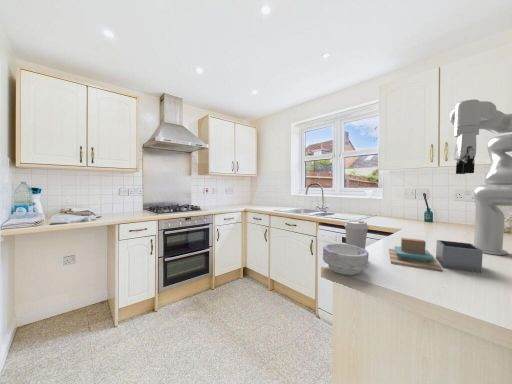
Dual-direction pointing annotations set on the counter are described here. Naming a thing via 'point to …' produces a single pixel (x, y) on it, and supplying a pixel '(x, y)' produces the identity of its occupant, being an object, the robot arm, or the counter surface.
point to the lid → (413, 250)
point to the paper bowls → (345, 258)
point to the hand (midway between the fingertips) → (464, 173)
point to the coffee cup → (356, 233)
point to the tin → (459, 256)
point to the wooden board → (413, 262)
